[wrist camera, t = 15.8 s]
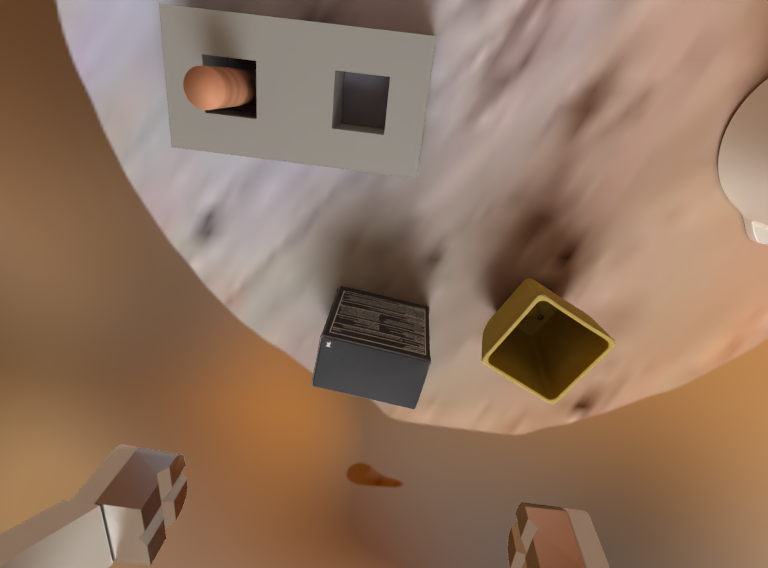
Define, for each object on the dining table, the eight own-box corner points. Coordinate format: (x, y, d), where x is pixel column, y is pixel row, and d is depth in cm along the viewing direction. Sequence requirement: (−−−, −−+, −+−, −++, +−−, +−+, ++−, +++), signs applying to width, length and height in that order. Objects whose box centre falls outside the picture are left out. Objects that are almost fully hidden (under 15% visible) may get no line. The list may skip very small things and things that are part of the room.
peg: (266, 71, 41) (222, 68, 32) (266, 105, 43) (224, 112, 34) (234, 67, 41) (181, 63, 32) (235, 101, 43) (184, 107, 34)
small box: (328, 333, 53) (307, 389, 43) (338, 284, 50) (318, 332, 40) (416, 353, 53) (414, 414, 43) (430, 306, 50) (432, 359, 41)
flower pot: (470, 316, 50) (479, 362, 42) (520, 256, 47) (541, 293, 39) (532, 355, 52) (553, 406, 43) (585, 298, 48) (618, 343, 40)
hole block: (434, 41, 39) (436, 36, 35) (417, 167, 44) (416, 178, 39) (189, 12, 40) (159, 3, 35) (197, 140, 44) (171, 147, 40)
